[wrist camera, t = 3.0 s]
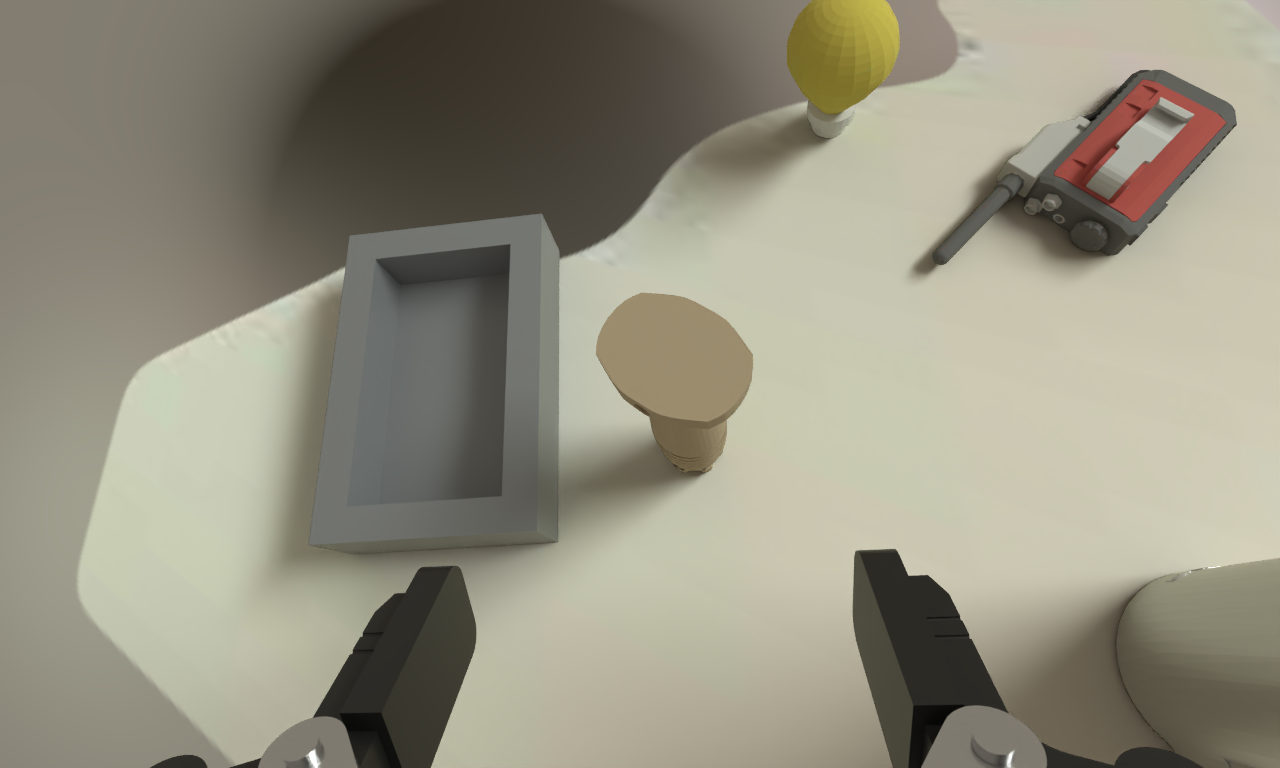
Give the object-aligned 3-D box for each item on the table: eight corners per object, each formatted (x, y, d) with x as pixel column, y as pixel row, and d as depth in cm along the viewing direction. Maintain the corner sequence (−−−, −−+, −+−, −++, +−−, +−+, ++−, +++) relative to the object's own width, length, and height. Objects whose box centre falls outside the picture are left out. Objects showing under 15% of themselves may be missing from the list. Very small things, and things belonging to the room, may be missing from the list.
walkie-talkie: (1102, 71, 47) (916, 262, 44) (1137, 17, 42) (934, 224, 39) (1227, 137, 44) (1037, 346, 41) (1278, 85, 40) (1071, 314, 36)
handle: (718, 512, 39) (708, 446, 25) (629, 454, 41) (574, 363, 27) (762, 445, 40) (774, 345, 26) (673, 391, 42) (641, 272, 28)
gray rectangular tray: (557, 542, 40) (536, 531, 36) (351, 553, 41) (308, 545, 37) (559, 251, 47) (541, 213, 43) (383, 270, 48) (349, 235, 44)
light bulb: (867, 80, 49) (897, -51, 39) (886, 155, 46) (924, 34, 37) (773, 95, 49) (781, -30, 40) (788, 170, 47) (800, 55, 38)
